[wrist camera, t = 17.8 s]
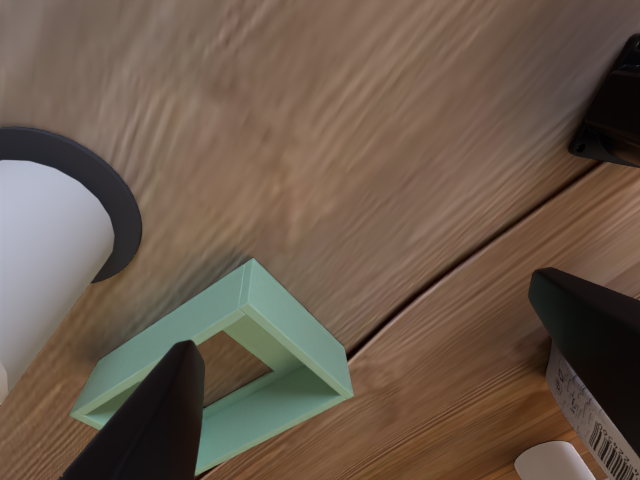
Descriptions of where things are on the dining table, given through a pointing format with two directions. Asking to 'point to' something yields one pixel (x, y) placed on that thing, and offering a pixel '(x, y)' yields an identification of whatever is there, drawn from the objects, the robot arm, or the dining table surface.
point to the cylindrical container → (552, 463)
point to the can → (43, 258)
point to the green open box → (253, 334)
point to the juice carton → (590, 420)
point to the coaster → (92, 176)
